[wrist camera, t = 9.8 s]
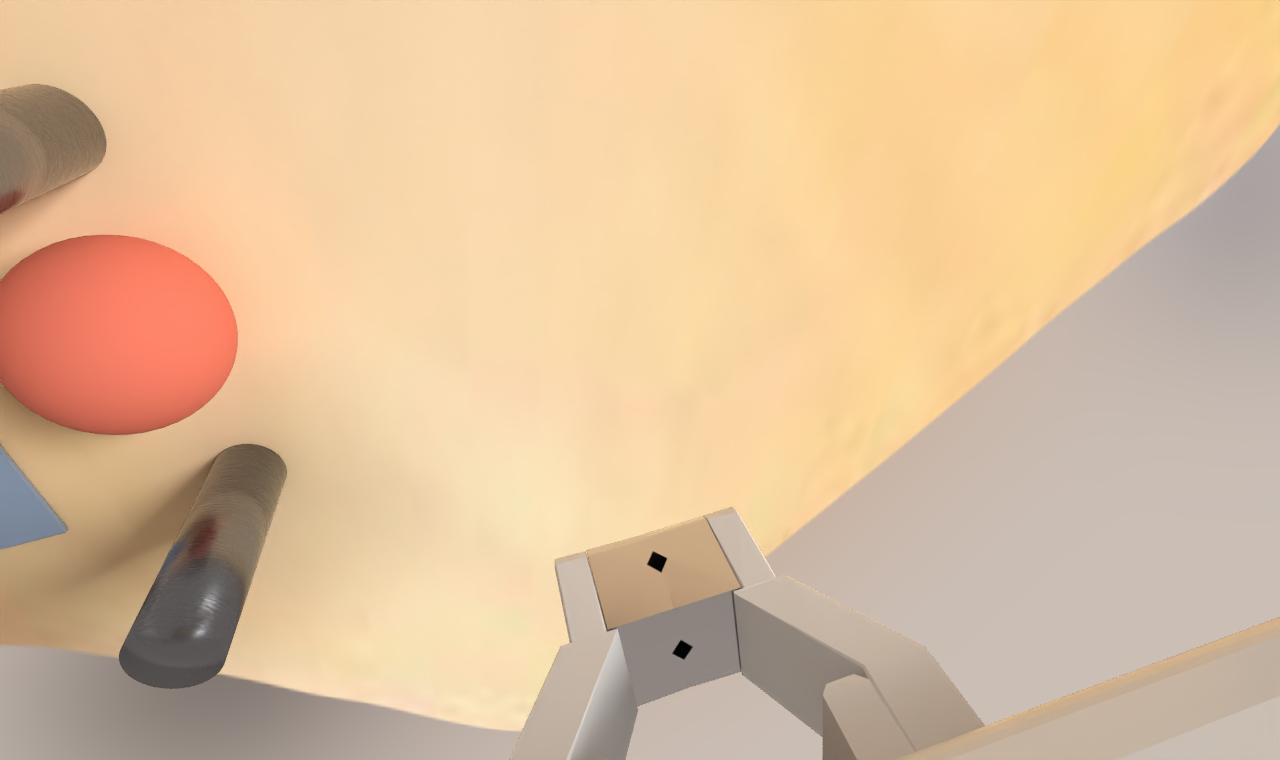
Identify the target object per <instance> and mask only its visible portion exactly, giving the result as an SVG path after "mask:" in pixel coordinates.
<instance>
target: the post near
mask: <svg viewBox="0 0 1280 760" xmlns="http://www.w3.org/2000/svg"><path fill="white" fill-rule="evenodd" d="M105 152H106V138H105V134H104V131H103V128H102V126H101V124H100V122H99V120H98V119H97V117H96V116H95V115H94V113H93V112H92V111H91V110H90V109H89V108H88V107H87V106H86V105H85V104H84V103H83V102H82V101H80V100H79V99H77V98H76V97H74V96H73V95H71V94H69V93H67V92H65V91H63V90H61V89H58V88H55V87H51V86H47V85H40V84H31V85H24V86H19V87H13V88H8V89H3V90H0V214H2V213H4V212H6V211H9V210H11V209H13V208H15V207H17V206H19V205H21V204H23V203H25V202H27V201H30V200H32V199H34V198H36V197H38V196H40V195H42V194H44V193H46V192H49V191H51V190H53V189H55V188H57V187H59V186H61V185H63V184H65V183H67V182H70V181H72V180H74V179H76V178H78V177H80V176H82V175H84V174H86V173H89V172H90V171H92V170H94V169H95V168H96V167H97V166H98V165H99V164H100V163H101V162H102V160H103V158H104V155H105Z"/></svg>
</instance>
